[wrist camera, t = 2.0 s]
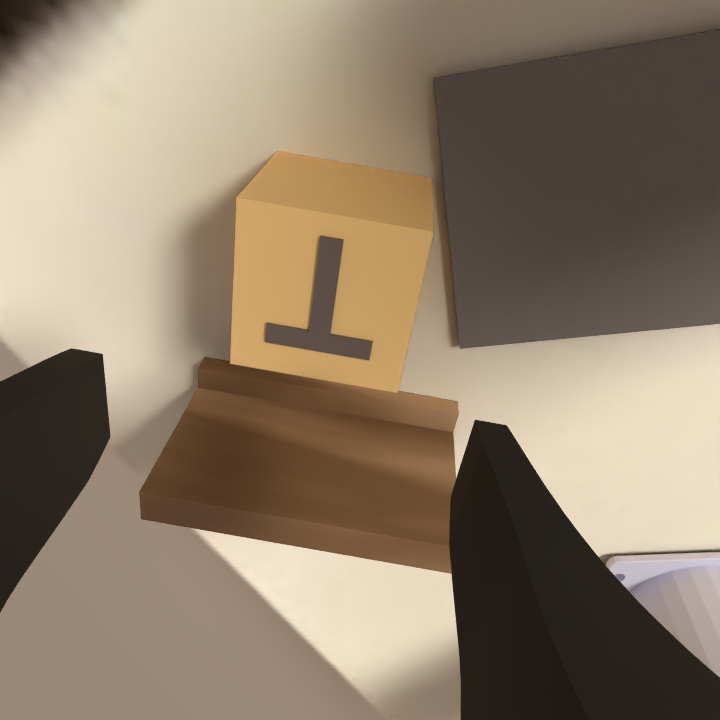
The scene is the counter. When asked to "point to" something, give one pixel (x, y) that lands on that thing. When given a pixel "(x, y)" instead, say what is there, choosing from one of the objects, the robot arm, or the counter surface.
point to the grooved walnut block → (310, 466)
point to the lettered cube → (329, 269)
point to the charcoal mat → (584, 192)
